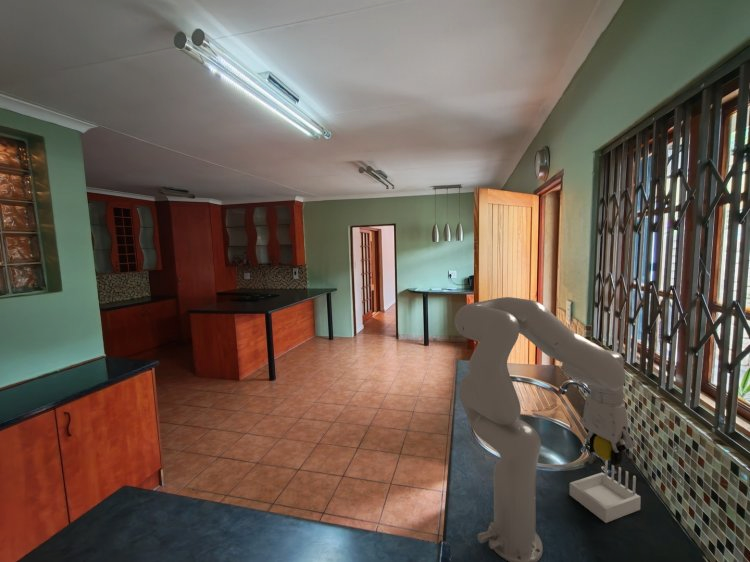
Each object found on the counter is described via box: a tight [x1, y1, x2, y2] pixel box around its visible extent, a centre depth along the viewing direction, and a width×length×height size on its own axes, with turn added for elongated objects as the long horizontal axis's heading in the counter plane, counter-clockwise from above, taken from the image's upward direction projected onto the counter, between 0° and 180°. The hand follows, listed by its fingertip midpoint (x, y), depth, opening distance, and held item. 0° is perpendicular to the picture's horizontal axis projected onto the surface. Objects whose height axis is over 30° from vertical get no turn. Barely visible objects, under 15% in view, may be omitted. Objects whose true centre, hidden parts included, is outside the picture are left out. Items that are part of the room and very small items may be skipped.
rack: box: [569, 460, 642, 524], centre depth 95 cm, size 13×11×9 cm
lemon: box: [593, 435, 613, 462], centre depth 94 cm, size 6×6×8 cm
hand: (604, 456), depth 94 cm, fingers closed on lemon, 5 cm apart
